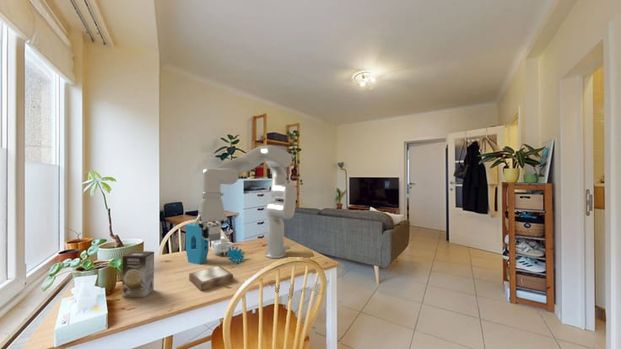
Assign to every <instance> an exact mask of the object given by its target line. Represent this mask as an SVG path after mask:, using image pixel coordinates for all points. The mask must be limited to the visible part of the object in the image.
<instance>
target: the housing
mask: <svg viewBox="0 0 621 349" xmlns="http://www.w3.org/2000/svg"><path fill="white" fill-rule="evenodd" d="M221 228H222V227H221V226H219V225H217V224H216V223H215V222H208V223H207V226H206V229H207V238H206V239H205V238H203V237H202V238H203V239H205V240H207V241H209V242H210V243H211V242H212V241H215V240H221V235H222V233H221V231H222V229H221Z"/></svg>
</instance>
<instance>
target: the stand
mask: <svg viewBox="0 0 621 349" xmlns="http://www.w3.org/2000/svg"><path fill="white" fill-rule="evenodd" d="M188 277H189V278H188V281H189V282H190V283H192V284H193V285H194V286H195V287H196V288H197V289H198V290H199V291H200V292H204V291H206V290H209V289H212V288H215V287H218V286H219V287H220V286H223V285H225V284H228V283H231V282H233V281H234V273H232V272H230V271H228V270H226V269H225V268H224V267H223V266H220V265H217V266H214V267H208V268H206V269H205V268H204V269H201V270H198V271H197V270H196V271H194V272H191V273H189V274H188Z"/></svg>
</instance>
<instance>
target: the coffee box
mask: <svg viewBox="0 0 621 349" xmlns="http://www.w3.org/2000/svg"><path fill="white" fill-rule="evenodd" d="M154 276H155V251H151V250H150V251H146V250H145V251H143V250H133V251H130V252H128V253H126V254H124V255H122V278H121V279H122V283H121V284H122V285H121V286H122V288H121V290H122V295H121V297H124V298H125V297H128V298H130V297H132V298H133V297H135V298H136V297H137V298H138V297H139V298H145V297H146V296H148V295H149V294H150V293H152V292H153V291H154V288H155V287H154V285H155V284H154V283H155V282H154V281H155V277H154Z"/></svg>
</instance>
